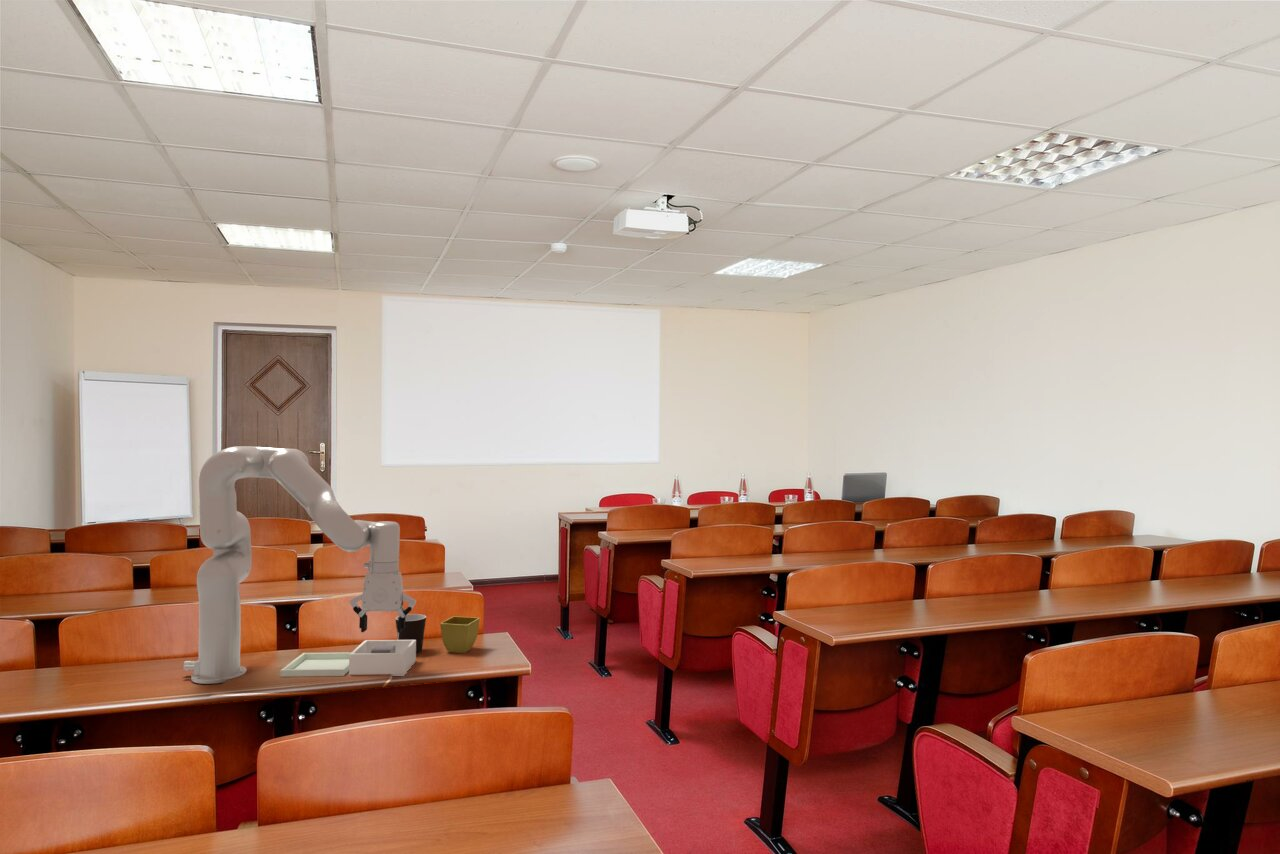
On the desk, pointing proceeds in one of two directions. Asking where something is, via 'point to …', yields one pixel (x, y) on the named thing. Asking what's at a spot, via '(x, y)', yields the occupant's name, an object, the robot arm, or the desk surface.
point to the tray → (317, 665)
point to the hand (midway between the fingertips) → (382, 631)
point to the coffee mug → (413, 629)
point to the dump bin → (382, 658)
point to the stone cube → (384, 649)
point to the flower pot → (459, 633)
